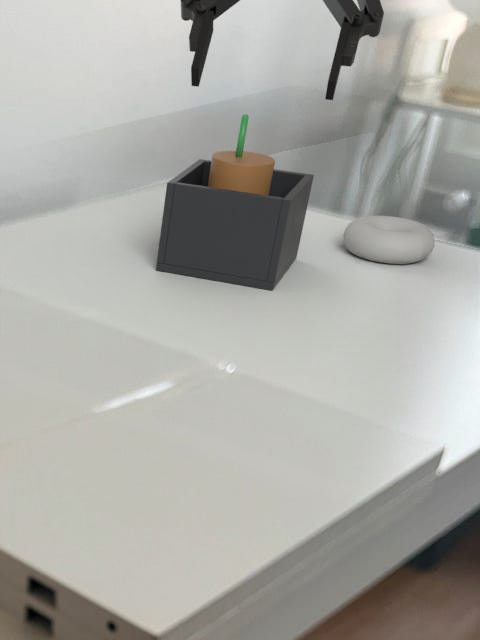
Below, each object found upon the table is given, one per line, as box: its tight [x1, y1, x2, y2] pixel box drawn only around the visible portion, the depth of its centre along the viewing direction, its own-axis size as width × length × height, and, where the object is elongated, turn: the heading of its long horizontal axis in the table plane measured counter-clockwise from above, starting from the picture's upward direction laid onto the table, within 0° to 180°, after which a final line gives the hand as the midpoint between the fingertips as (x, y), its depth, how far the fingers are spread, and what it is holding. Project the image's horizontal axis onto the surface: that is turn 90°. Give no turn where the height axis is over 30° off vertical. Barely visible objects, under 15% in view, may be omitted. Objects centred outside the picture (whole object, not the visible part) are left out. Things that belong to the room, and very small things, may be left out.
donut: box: [343, 215, 436, 265], centre depth 117 cm, size 10×4×10 cm
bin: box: [155, 158, 315, 291], centre depth 110 cm, size 13×13×9 cm
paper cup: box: [208, 113, 276, 196], centre depth 108 cm, size 6×6×14 cm
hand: (261, 84), depth 104 cm, fingers open, 13 cm apart
